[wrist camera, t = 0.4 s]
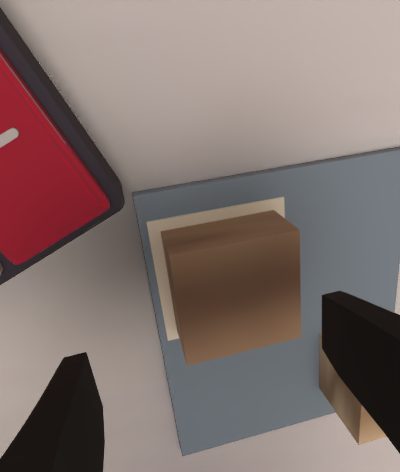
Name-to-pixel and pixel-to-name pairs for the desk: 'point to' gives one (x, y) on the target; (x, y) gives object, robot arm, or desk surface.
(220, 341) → the walnut slab
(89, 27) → the desk surface
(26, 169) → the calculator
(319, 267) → the board
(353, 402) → the oak cube
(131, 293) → the desk surface
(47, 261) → the desk surface
